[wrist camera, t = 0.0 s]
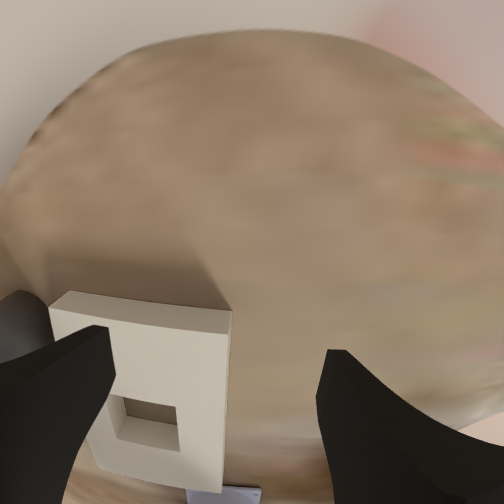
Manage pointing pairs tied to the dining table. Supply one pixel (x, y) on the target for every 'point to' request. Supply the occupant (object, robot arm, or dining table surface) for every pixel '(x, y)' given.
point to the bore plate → (158, 387)
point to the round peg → (23, 325)
